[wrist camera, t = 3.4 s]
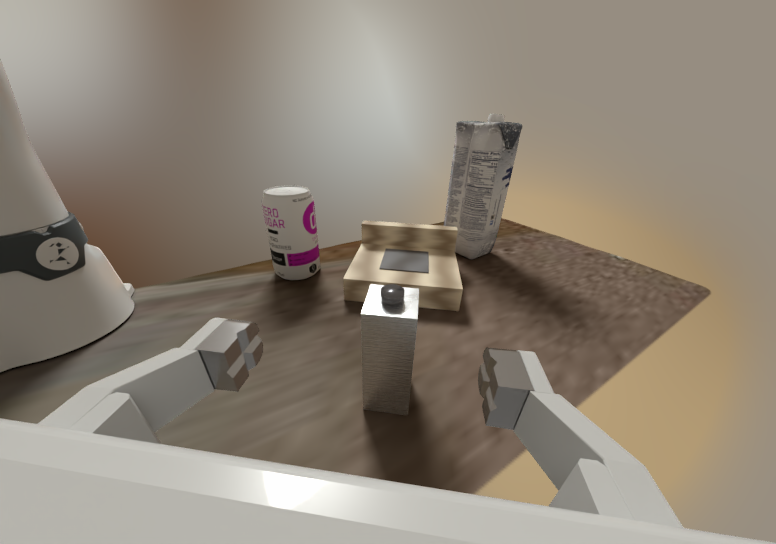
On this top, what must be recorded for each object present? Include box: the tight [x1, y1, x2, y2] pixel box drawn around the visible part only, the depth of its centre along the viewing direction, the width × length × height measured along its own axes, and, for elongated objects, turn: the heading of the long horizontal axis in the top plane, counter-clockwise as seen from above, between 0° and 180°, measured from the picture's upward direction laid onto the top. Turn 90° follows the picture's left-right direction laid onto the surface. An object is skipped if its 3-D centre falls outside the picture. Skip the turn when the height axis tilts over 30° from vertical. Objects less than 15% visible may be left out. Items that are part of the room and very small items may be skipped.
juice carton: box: [444, 114, 522, 259], centre depth 57 cm, size 9×10×27 cm
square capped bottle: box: [361, 284, 419, 415], centre depth 26 cm, size 4×4×13 cm
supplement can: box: [261, 186, 320, 280], centre depth 49 cm, size 8×8×15 cm
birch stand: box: [343, 221, 463, 311], centre depth 48 cm, size 18×16×8 cm
